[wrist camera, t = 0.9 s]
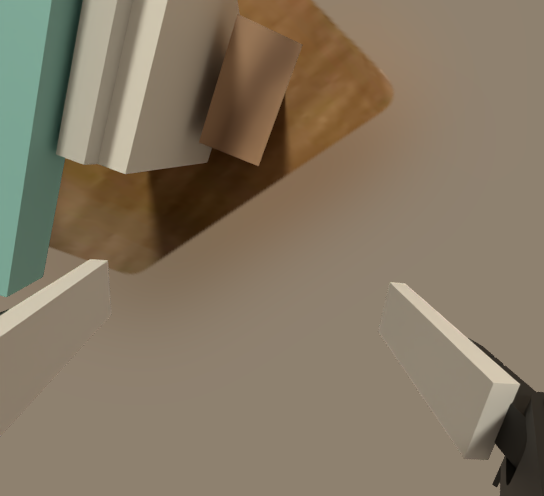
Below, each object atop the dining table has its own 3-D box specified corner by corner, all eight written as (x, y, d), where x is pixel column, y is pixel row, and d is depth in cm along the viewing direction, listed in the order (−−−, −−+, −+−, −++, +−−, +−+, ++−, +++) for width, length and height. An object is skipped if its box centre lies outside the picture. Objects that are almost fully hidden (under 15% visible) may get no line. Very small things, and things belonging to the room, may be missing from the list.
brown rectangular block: (222, 147, 46) (198, 142, 28) (246, 73, 43) (237, 14, 25) (258, 162, 47) (258, 166, 29) (284, 90, 44) (302, 44, 26)
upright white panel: (144, 137, 45) (-106, 99, 14) (175, 14, 41) (-90, -428, 10) (207, 162, 47) (104, 176, 16) (244, 46, 42) (201, -254, 11)
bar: (-5, 262, 19) (-51, 280, 17) (60, -217, 13) (4, -321, 10) (43, 276, 20) (6, 297, 17) (127, -181, 14) (92, -271, 11)
